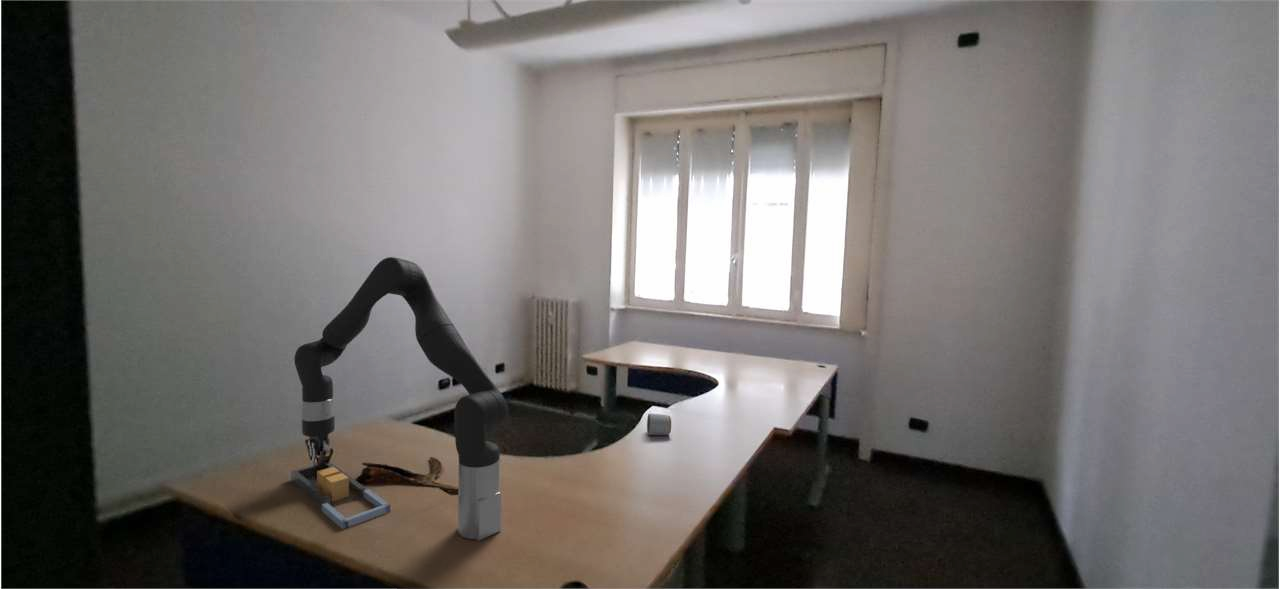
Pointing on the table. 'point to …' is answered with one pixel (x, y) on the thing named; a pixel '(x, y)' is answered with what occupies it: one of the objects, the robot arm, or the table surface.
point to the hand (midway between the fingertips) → (319, 477)
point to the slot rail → (309, 486)
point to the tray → (343, 522)
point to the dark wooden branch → (404, 476)
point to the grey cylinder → (658, 424)
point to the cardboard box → (337, 486)
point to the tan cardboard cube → (323, 474)
